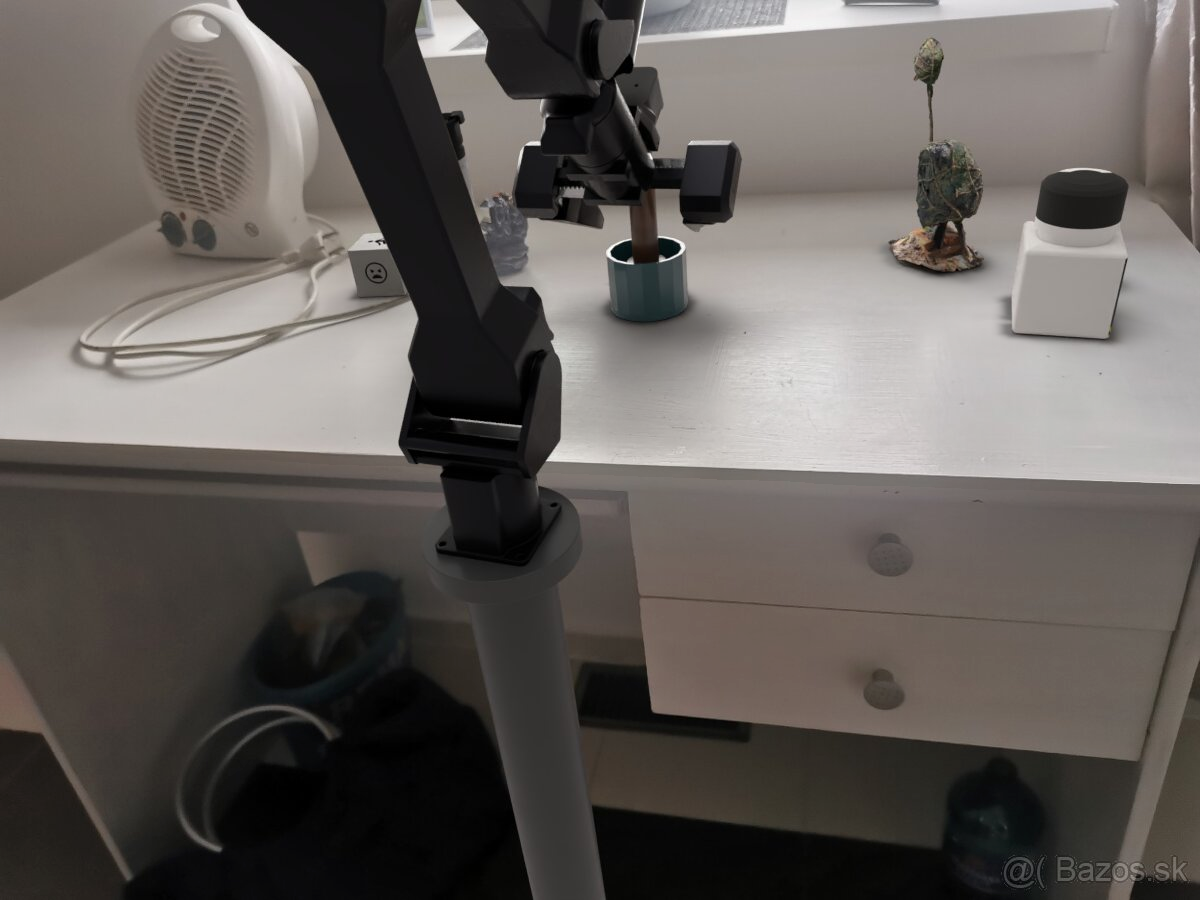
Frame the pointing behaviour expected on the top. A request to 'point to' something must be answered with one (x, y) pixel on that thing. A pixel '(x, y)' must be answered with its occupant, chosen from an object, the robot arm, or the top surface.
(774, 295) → the top surface
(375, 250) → the dice cube
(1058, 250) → the medicine bottle
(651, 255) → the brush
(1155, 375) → the top surface
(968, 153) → the plant with pod
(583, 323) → the top surface
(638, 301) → the beaker
